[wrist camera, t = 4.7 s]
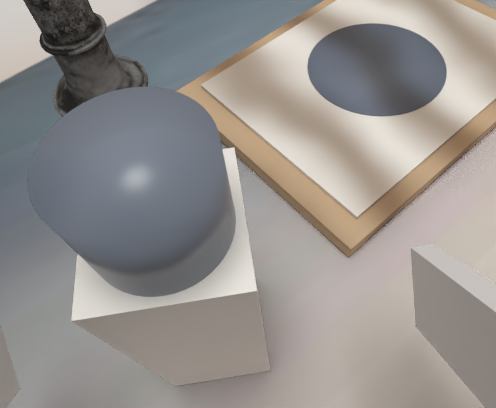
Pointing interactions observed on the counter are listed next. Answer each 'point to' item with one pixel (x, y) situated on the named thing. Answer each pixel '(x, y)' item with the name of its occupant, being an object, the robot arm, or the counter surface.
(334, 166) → the picture frame
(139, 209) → the dome-capped white pillar
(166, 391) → the counter surface
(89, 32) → the dark chess piece
